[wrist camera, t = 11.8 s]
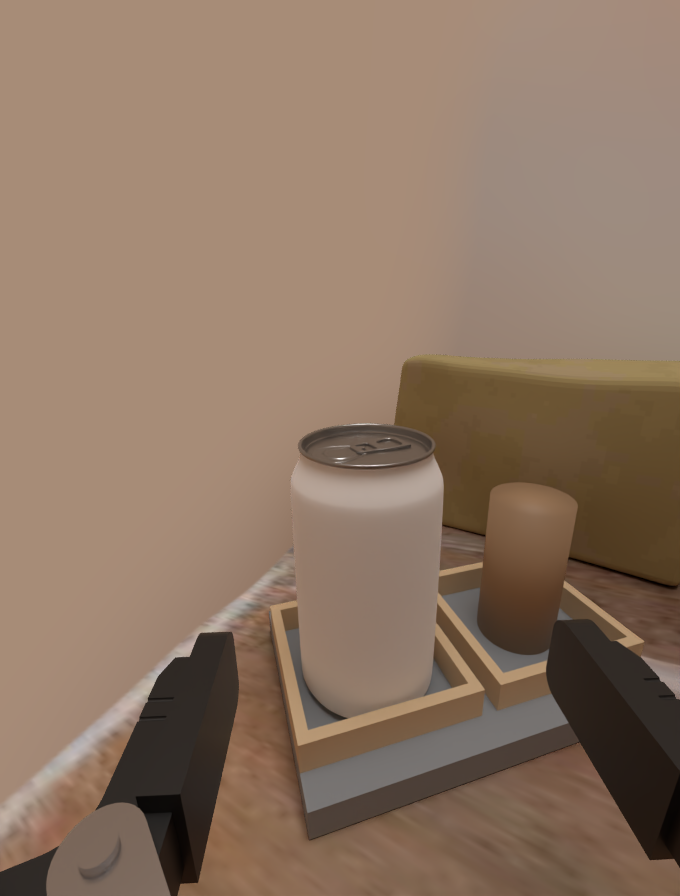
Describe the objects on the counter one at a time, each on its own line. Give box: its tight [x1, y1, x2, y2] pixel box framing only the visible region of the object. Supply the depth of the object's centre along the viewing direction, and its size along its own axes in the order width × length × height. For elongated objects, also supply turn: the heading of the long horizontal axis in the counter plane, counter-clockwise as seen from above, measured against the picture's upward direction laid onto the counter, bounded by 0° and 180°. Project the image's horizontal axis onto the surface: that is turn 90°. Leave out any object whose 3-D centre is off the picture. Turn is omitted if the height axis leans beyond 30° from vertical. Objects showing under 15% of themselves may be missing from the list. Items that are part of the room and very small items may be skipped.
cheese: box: [394, 355, 680, 586], centre depth 34 cm, size 22×10×15 cm, turn 66°
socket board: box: [269, 482, 645, 840], centre depth 21 cm, size 17×11×10 cm, turn 106°
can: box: [291, 424, 444, 718], centre depth 19 cm, size 6×6×12 cm
